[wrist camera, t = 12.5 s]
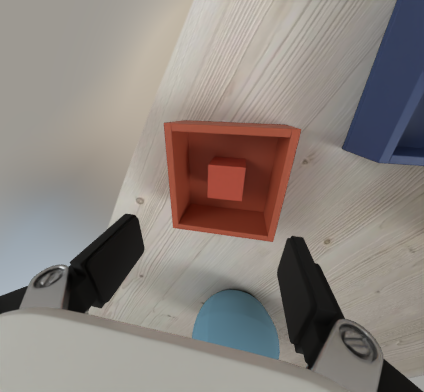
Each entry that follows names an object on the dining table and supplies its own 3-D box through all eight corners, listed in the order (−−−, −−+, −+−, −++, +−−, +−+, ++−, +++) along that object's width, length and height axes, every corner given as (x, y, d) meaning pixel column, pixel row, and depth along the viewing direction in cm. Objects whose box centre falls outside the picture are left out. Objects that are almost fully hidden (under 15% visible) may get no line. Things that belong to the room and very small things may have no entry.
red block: (213, 184, 26) (207, 197, 22) (214, 156, 24) (208, 164, 20) (242, 187, 26) (241, 201, 22) (245, 158, 24) (245, 167, 20)
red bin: (187, 204, 30) (173, 228, 24) (184, 120, 24) (163, 122, 18) (267, 214, 28) (273, 242, 22) (286, 124, 22) (301, 129, 16)
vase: (286, 316, 38) (342, 595, 16) (227, 329, 45) (209, 539, 23) (247, 269, 34) (249, 559, 12) (187, 290, 41) (118, 504, 18)
